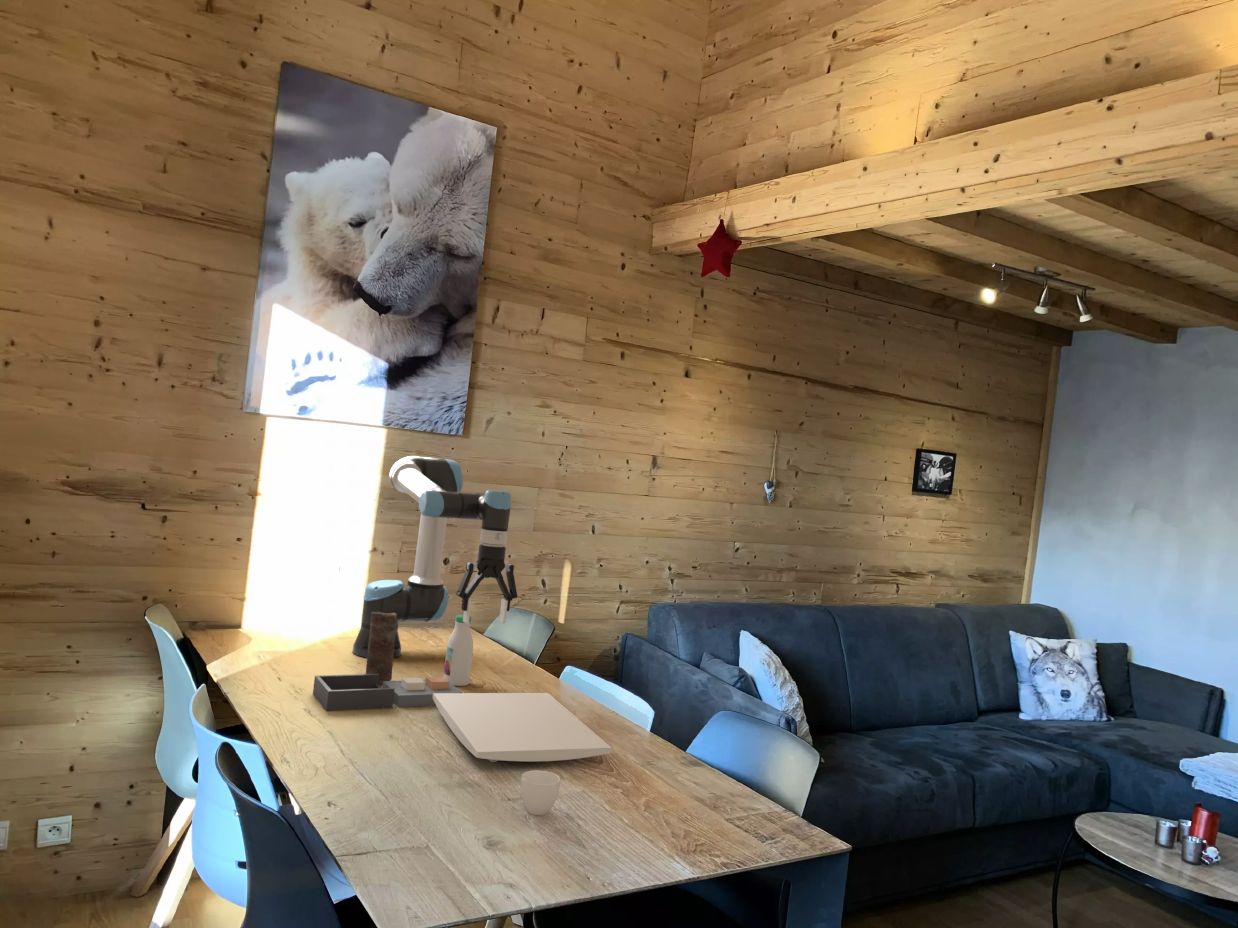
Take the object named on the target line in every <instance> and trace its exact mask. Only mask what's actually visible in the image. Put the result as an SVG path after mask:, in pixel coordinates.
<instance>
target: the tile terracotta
mask: <svg viewBox="0 0 1238 928" xmlns="http://www.w3.org/2000/svg"><path fill="white" fill-rule="evenodd" d="M425 680H426V682H425V685H427V686H428V687H429V688H430V689H449V681H448V680H447V679H446V678H444V676H426V677H425Z"/></svg>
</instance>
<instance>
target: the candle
mask: <svg viewBox="0 0 1238 928" xmlns="http://www.w3.org/2000/svg"><path fill="white" fill-rule="evenodd" d="M396 618H397V614H396V613H382V612H372V613H371V624H370V634H369V645H368V654H367V657H366V664H365V665H366V666H365V674H379V681H378V684H379V685H383V681H392V676H393V666H394V658H393V654H394V641H395V630H396Z"/></svg>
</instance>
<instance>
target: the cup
mask: <svg viewBox="0 0 1238 928" xmlns="http://www.w3.org/2000/svg"><path fill="white" fill-rule="evenodd" d="M560 786H561V777H560V776H559V775H557V774H556V773H553V772H550V771H547V770H538V769H537V770H529V771H528V770H527V771H525V772H523V773H522V774H521V778H520V797H521V800H522V804H523V806H524V808H525V810H526V812H527V813H528V814H530V815H535V816H545V815H547V814H548V813H549V812H550V810H551V809H552V808H553V806H554V805H555V803H556V801H557V798H558V796H559V792H560Z"/></svg>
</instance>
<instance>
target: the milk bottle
mask: <svg viewBox="0 0 1238 928" xmlns="http://www.w3.org/2000/svg"><path fill="white" fill-rule="evenodd" d="M463 615H464V614H456V615H455V620H454V621H455V622H454V623H455V626H454V629H453V631H452V633H451V634H450V636H449V638H448V641H447V645H446V651H445V661H444V669H443V677H444V678H446V679H447V680H448V681H449V682H450V683H451V684H452V685H454V686H455V687H464V686H468V685H469V684H470V680H471V674H472V673H471V672H472V664H473V663H472V662H473V654H474V653H473V652H474V640H473V639H474V638H473V636H472V633H471V628H470V625H472V623H471V622H472V616H470V618H469V623H465V622H463Z"/></svg>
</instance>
